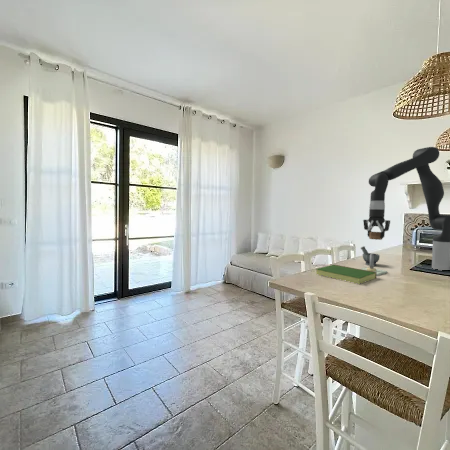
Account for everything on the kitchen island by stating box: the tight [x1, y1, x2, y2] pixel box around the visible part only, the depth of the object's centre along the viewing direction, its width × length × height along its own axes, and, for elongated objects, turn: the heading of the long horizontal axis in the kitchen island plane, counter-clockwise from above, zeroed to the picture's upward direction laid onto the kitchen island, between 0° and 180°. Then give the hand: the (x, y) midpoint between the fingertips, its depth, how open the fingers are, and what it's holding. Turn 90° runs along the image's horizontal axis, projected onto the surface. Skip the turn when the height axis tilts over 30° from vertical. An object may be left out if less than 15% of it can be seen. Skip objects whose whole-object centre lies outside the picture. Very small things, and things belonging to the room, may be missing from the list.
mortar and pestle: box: [360, 245, 381, 267], centre depth 167 cm, size 11×9×12 cm
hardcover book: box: [315, 264, 377, 285], centre depth 139 cm, size 25×19×4 cm
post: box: [360, 253, 388, 277], centre depth 147 cm, size 12×12×11 cm
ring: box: [368, 231, 383, 241], centre depth 145 cm, size 6×6×4 cm
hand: (375, 237), depth 145 cm, fingers closed on ring, 6 cm apart
